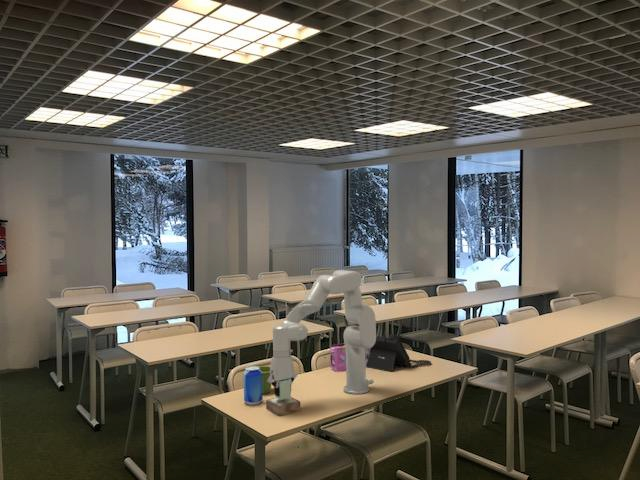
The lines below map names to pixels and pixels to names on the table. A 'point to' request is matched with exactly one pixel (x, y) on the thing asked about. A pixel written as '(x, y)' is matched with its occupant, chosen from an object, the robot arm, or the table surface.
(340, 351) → the gum box
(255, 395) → the beer can
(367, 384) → the robot arm
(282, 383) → the green block
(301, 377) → the table surface
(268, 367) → the plant pot
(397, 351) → the office phone
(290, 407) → the base block
